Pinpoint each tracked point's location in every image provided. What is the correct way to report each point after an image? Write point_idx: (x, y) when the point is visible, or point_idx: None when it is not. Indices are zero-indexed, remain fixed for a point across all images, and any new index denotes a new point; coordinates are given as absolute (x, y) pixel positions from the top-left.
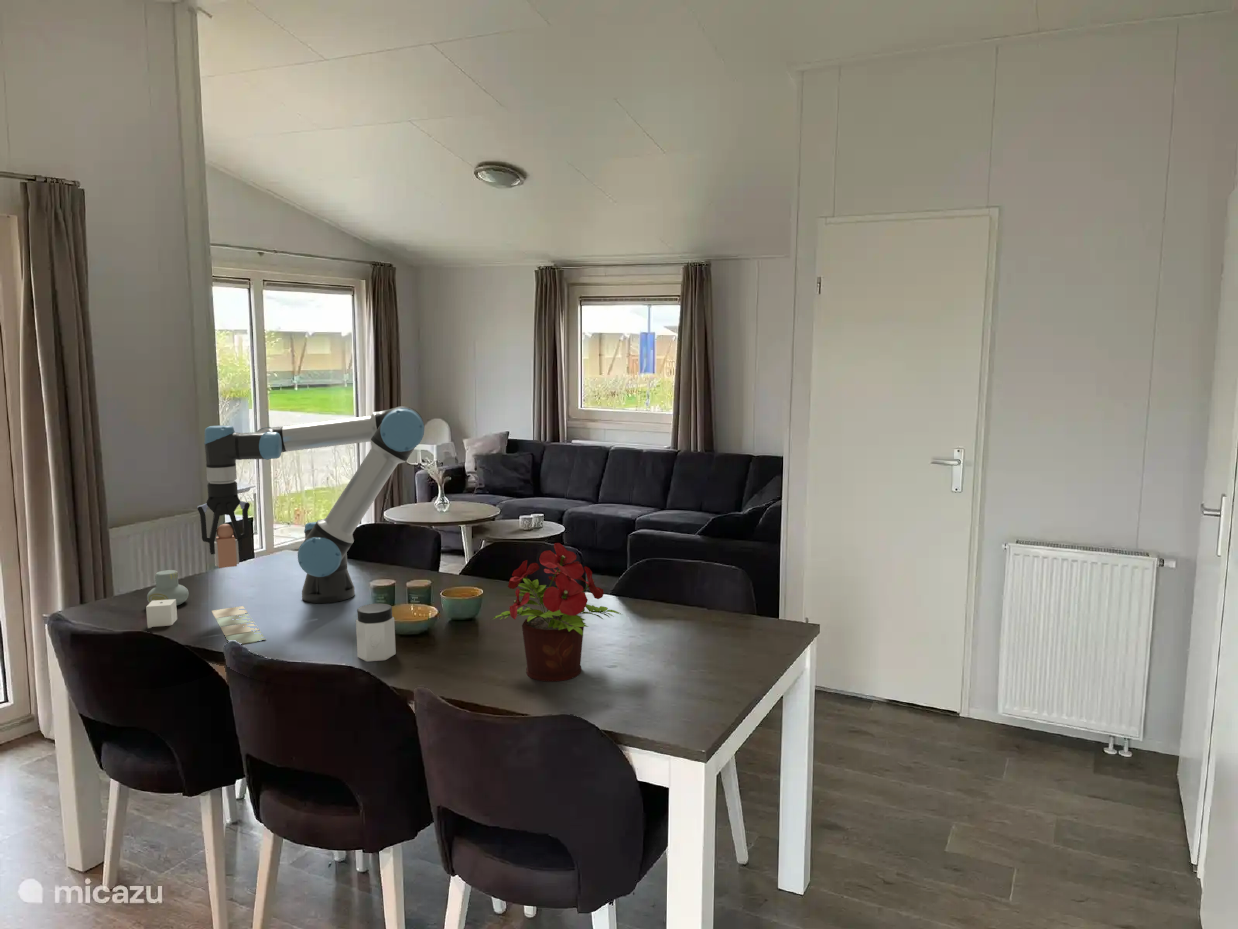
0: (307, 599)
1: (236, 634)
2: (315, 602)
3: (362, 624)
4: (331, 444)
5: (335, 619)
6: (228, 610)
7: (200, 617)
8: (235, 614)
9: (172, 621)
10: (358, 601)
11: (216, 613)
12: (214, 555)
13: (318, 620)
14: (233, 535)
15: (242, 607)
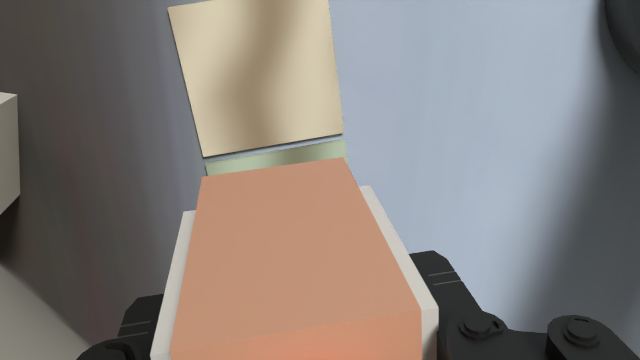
0: (620, 39)
1: None
2: (636, 71)
3: None
4: None
5: (619, 308)
6: (255, 43)
7: (127, 94)
8: (289, 130)
9: (11, 187)
10: None
11: (200, 75)
12: (174, 255)
13: (569, 302)
14: (420, 336)
15: (322, 12)
